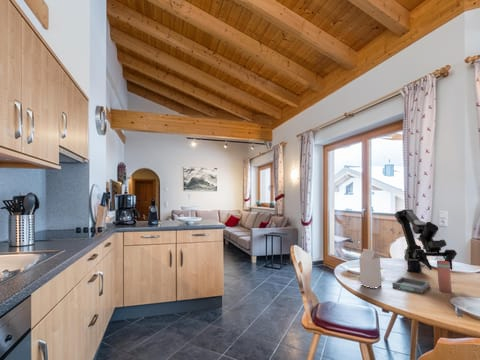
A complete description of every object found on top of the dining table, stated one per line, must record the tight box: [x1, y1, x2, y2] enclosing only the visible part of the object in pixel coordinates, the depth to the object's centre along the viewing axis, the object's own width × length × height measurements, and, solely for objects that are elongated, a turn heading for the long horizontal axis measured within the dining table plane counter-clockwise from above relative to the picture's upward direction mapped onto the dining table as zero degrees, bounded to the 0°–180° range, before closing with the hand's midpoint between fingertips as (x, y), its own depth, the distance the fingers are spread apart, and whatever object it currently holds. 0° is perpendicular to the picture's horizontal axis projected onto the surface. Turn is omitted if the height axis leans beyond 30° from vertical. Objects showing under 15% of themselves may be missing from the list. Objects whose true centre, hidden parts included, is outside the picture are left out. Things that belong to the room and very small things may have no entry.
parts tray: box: [391, 276, 430, 295], centre depth 135 cm, size 13×13×2 cm
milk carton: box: [358, 248, 383, 288], centre depth 139 cm, size 7×7×19 cm
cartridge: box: [436, 260, 452, 293], centre depth 130 cm, size 5×5×14 cm
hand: (441, 269), depth 132 cm, fingers open, 9 cm apart
